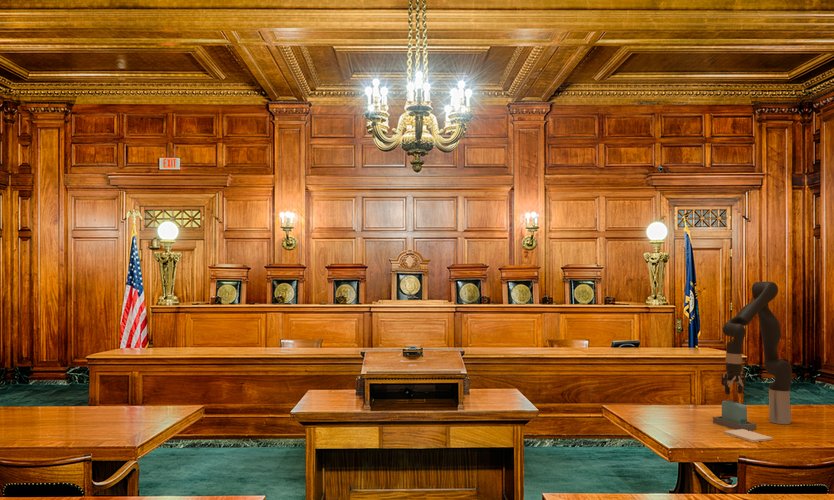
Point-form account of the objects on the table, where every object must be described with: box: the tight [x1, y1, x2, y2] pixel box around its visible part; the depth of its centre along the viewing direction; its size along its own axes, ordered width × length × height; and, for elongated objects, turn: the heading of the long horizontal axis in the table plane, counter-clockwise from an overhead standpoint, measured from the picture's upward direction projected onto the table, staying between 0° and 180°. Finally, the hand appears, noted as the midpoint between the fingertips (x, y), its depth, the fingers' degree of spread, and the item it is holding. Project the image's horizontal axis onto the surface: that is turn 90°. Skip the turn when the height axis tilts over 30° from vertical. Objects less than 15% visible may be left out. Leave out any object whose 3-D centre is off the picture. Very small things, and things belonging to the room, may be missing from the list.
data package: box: [721, 400, 748, 424], centre depth 292 cm, size 12×4×12 cm, turn 15°
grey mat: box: [722, 429, 774, 443], centre depth 272 cm, size 13×16×1 cm
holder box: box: [712, 415, 757, 431], centre depth 292 cm, size 10×17×3 cm, turn 20°
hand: (733, 393), depth 293 cm, fingers open, 8 cm apart
